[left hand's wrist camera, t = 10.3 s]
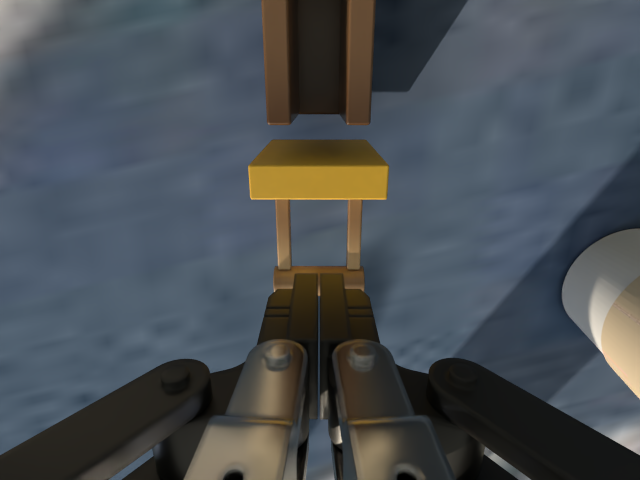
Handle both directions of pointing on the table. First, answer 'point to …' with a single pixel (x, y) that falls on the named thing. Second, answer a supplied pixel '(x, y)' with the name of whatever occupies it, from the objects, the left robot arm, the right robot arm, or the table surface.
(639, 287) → the coffee cup
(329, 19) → the drawer
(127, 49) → the table surface
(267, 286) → the table surface
